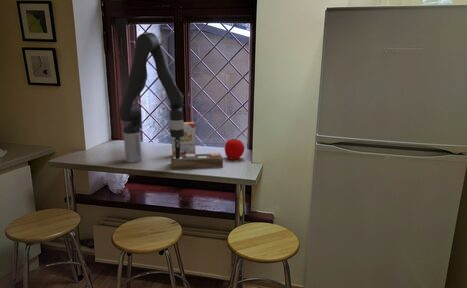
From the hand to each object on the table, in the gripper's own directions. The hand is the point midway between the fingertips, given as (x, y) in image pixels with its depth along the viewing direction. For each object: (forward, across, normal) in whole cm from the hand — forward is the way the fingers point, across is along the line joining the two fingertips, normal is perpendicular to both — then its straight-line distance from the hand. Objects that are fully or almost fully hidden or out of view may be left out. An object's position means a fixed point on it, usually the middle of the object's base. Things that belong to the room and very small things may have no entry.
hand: (177, 158), depth 186 cm
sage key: (+3, 0, +14) cm, 14 cm away
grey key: (+1, 0, +7) cm, 7 cm away
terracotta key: (+1, 0, +21) cm, 21 cm away
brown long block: (+5, 0, +10) cm, 11 cm away
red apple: (+5, -11, +34) cm, 36 cm away
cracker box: (+5, -23, +4) cm, 24 cm away
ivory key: (+3, 0, 0) cm, 3 cm away
